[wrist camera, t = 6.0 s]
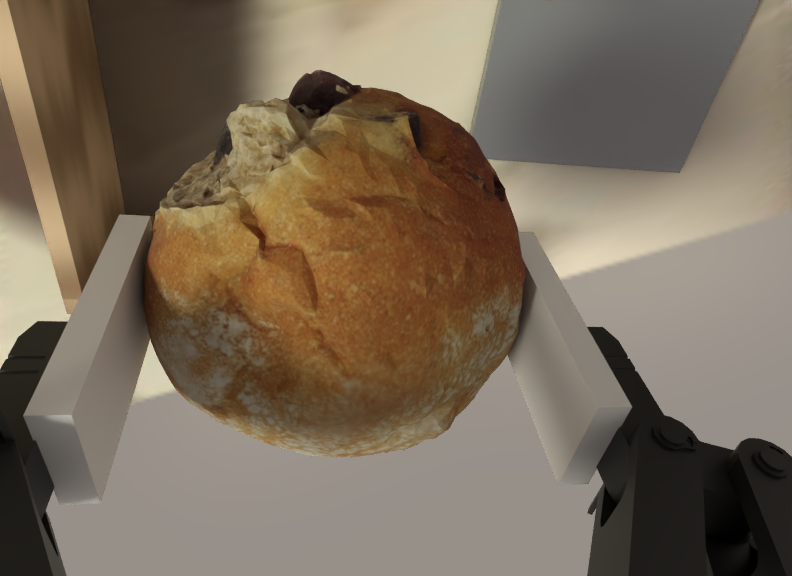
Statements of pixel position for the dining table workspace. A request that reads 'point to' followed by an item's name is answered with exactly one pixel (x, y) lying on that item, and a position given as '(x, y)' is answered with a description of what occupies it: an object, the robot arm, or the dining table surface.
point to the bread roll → (335, 272)
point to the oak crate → (62, 131)
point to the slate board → (604, 79)
